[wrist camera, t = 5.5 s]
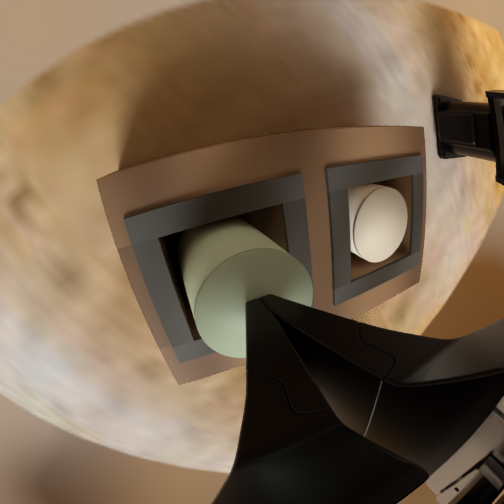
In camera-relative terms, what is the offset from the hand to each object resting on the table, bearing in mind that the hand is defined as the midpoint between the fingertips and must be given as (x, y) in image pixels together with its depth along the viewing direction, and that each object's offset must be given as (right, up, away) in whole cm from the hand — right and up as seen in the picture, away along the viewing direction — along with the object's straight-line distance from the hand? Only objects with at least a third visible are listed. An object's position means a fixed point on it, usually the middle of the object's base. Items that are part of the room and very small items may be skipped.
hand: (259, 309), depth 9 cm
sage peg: (-2, +2, +5) cm, 6 cm away
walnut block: (+1, +4, +9) cm, 10 cm away
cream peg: (+4, +5, +10) cm, 12 cm away
